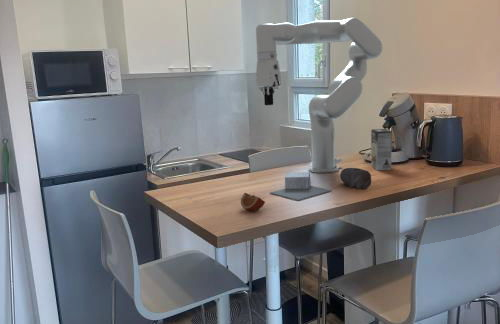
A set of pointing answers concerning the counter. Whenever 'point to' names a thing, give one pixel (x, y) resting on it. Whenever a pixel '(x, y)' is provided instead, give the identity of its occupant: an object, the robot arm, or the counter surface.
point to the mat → (300, 193)
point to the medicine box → (298, 180)
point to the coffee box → (381, 149)
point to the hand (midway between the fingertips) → (268, 104)
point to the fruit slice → (251, 202)
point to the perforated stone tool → (356, 177)
